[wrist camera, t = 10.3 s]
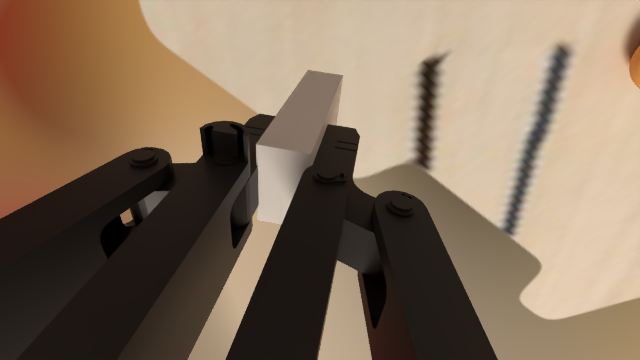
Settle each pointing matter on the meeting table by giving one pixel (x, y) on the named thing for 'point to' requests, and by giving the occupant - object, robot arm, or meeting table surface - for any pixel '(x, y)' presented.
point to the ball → (635, 67)
